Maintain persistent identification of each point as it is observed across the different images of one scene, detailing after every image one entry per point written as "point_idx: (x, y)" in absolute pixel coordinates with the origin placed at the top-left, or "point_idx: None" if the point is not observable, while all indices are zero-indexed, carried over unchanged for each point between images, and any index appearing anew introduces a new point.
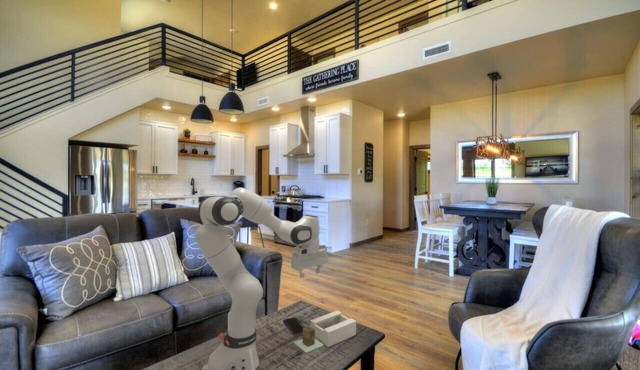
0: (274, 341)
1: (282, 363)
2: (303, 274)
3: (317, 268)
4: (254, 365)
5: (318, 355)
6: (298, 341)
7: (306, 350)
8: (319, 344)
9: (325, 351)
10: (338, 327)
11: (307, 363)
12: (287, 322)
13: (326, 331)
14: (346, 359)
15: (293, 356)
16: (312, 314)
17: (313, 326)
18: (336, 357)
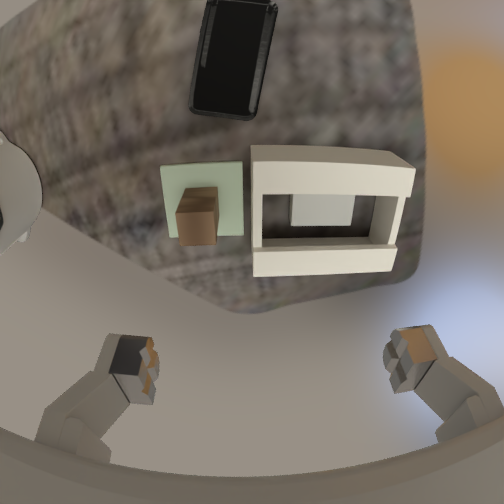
0: (106, 119)
1: (93, 235)
2: (138, 396)
3: (440, 375)
4: (25, 230)
5: (199, 259)
6: (176, 172)
7: (175, 230)
8: (232, 226)
9: (229, 256)
10: (309, 271)
11: (153, 269)
12: (216, 19)
13: (253, 265)
14: (255, 306)
15: (130, 225)
16: (363, 27)
17: (252, 179)
18: (238, 289)
